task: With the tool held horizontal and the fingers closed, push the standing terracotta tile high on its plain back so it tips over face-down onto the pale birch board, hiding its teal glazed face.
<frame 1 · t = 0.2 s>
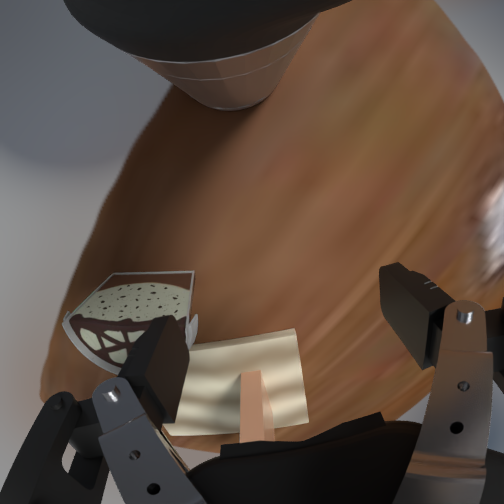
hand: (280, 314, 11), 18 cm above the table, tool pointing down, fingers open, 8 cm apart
board: (221, 392, 36), on the table
food container: (157, 296, 31), on the table
tile: (257, 394, 35), point 1 cm above the table, touching board
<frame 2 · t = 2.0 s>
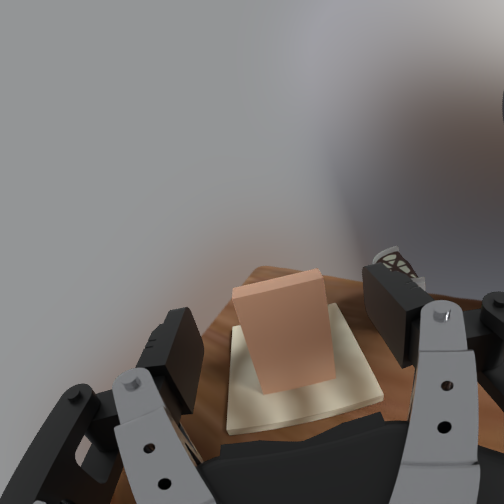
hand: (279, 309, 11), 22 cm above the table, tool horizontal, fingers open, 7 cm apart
board: (294, 362, 39), on the table
food container: (391, 322, 41), on the table
tile: (298, 380, 34), point 1 cm above the table, touching board
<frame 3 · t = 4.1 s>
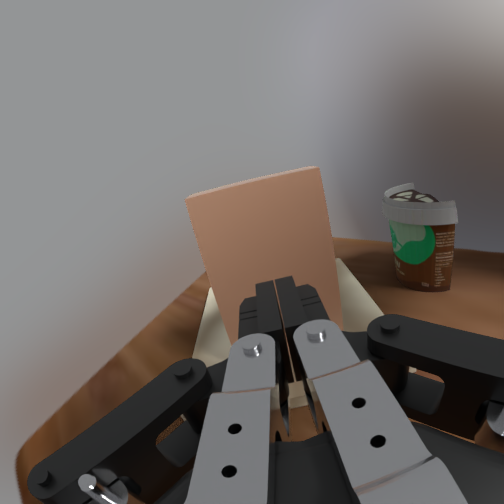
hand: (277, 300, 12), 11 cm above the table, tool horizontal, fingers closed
board: (286, 325, 29), on the table
food container: (412, 278, 31), on the table
tile: (290, 346, 24), point 1 cm above the table, touching board
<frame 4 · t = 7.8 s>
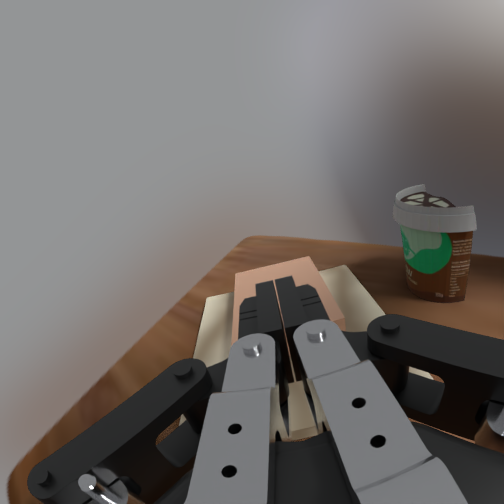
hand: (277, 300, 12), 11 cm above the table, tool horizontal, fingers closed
board: (290, 342, 26), on the table
food container: (423, 287, 28), on the table
tile: (291, 344, 22), point 3 cm above the table, tilted 90°, touching board
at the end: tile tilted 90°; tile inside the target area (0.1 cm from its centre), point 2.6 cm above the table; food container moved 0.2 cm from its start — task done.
